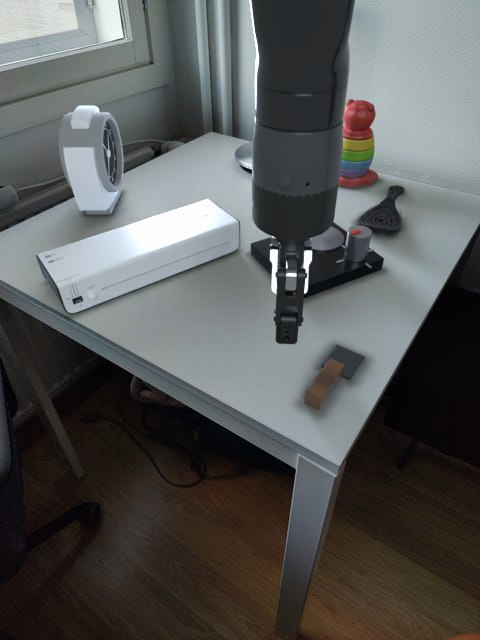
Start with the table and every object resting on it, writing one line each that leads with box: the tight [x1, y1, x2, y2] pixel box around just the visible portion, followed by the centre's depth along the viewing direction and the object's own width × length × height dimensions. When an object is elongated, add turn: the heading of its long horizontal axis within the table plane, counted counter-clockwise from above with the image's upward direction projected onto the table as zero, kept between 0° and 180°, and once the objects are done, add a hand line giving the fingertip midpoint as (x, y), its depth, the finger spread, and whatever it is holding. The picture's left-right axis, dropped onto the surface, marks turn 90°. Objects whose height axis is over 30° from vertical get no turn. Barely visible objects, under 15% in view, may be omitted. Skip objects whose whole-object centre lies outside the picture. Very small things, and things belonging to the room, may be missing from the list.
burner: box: [311, 227, 344, 252], centre depth 86 cm, size 9×9×1 cm
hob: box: [250, 221, 385, 300], centre depth 84 cm, size 18×17×3 cm
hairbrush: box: [356, 184, 405, 235], centre depth 97 cm, size 8×4×25 cm
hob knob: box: [344, 225, 373, 262], centre depth 80 cm, size 4×4×5 cm
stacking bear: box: [338, 98, 379, 188], centre depth 105 cm, size 11×10×18 cm
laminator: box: [35, 198, 241, 315], centre depth 82 cm, size 34×12×6 cm, turn 124°
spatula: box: [303, 344, 366, 412], centre depth 63 cm, size 12×4×3 cm, turn 145°
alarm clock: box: [58, 105, 125, 215], centre depth 97 cm, size 18×8×20 cm, turn 179°
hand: (286, 314), depth 50 cm, fingers open, 8 cm apart
